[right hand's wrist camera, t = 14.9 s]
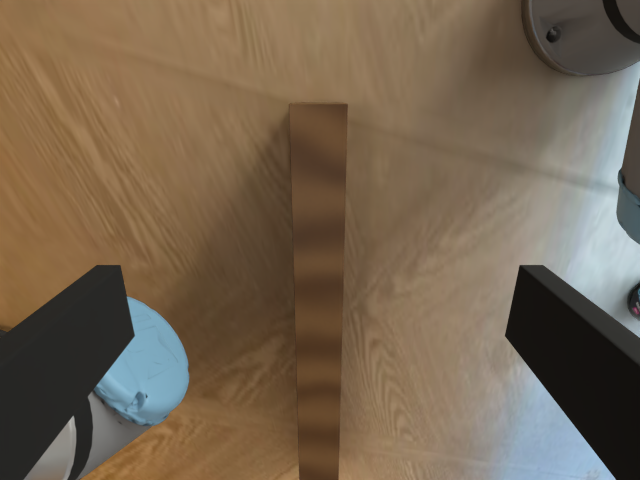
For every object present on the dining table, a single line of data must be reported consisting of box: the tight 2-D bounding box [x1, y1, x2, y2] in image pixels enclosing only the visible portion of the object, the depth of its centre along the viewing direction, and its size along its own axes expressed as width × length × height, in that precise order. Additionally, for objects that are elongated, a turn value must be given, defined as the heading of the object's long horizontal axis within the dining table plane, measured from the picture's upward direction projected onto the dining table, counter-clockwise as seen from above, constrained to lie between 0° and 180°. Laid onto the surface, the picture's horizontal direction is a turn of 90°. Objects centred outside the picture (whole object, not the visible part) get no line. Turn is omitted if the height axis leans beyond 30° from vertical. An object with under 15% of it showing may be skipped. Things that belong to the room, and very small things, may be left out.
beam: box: [289, 103, 348, 480], centre depth 46 cm, size 53×5×7 cm, turn 0°
